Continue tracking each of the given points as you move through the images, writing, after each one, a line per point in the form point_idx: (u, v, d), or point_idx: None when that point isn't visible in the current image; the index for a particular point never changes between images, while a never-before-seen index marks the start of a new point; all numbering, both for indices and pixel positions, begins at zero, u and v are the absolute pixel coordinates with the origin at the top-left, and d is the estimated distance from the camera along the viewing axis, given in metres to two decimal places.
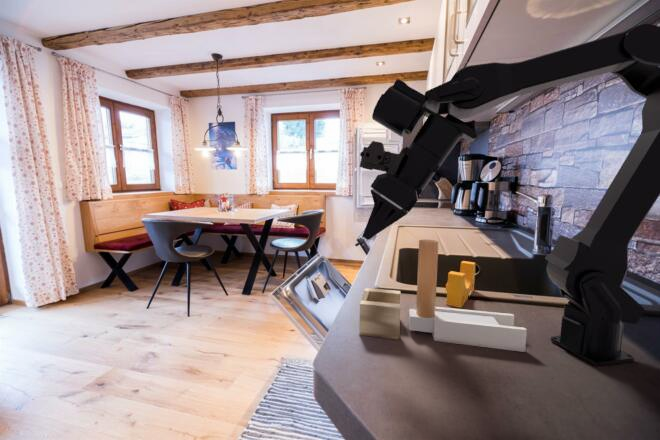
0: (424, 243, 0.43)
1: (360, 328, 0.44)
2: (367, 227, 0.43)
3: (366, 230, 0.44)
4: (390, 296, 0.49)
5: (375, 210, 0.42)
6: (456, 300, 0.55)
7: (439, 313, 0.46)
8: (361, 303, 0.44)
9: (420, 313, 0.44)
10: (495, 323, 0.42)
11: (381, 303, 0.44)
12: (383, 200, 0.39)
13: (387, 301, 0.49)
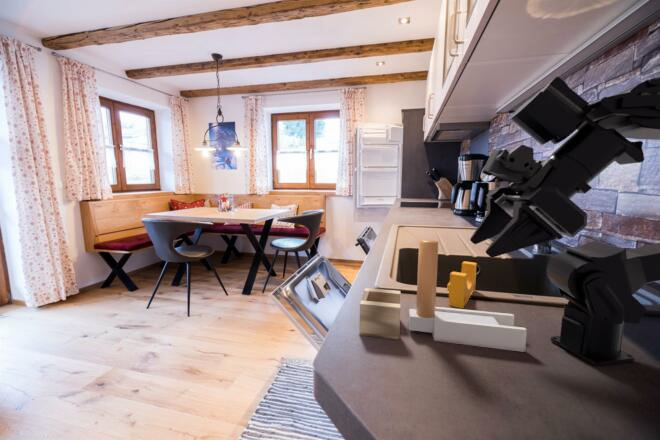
0: (424, 243, 0.43)
1: (360, 328, 0.44)
2: (496, 243, 0.37)
3: (493, 247, 0.37)
4: (390, 296, 0.49)
5: (515, 226, 0.36)
6: (458, 300, 0.55)
7: (439, 313, 0.46)
8: (361, 303, 0.44)
9: (420, 313, 0.44)
10: (495, 323, 0.42)
11: (381, 303, 0.44)
12: (538, 218, 0.33)
13: (387, 301, 0.49)
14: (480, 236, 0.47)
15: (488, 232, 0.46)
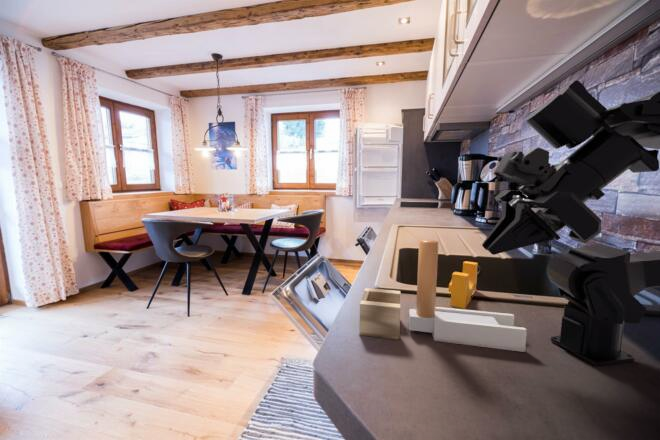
0: (424, 243, 0.43)
1: (360, 328, 0.44)
2: (498, 242, 0.40)
3: (495, 244, 0.40)
4: (390, 296, 0.49)
5: (516, 226, 0.38)
6: (460, 301, 0.55)
7: (439, 313, 0.46)
8: (361, 303, 0.44)
9: (420, 313, 0.44)
10: (495, 323, 0.42)
11: (381, 303, 0.44)
12: (538, 219, 0.36)
13: (387, 301, 0.49)
14: (493, 242, 0.43)
15: None
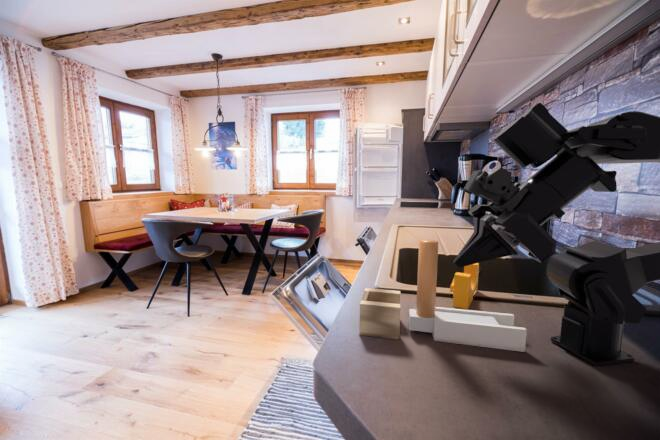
0: (424, 243, 0.43)
1: (360, 328, 0.44)
2: (463, 255, 0.42)
3: (461, 258, 0.43)
4: (390, 296, 0.49)
5: (479, 241, 0.41)
6: (463, 301, 0.55)
7: (439, 313, 0.46)
8: (361, 303, 0.44)
9: (420, 313, 0.44)
10: (495, 323, 0.42)
11: (381, 303, 0.44)
12: (498, 236, 0.38)
13: (387, 301, 0.49)
14: None
15: None
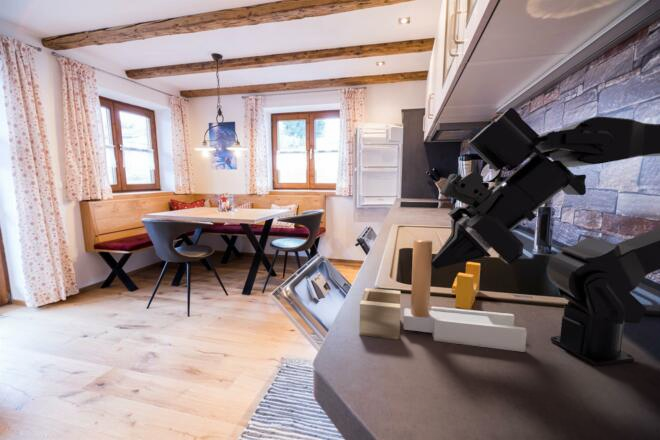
0: (418, 243, 0.43)
1: (360, 328, 0.44)
2: (439, 257, 0.43)
3: (437, 259, 0.43)
4: (390, 296, 0.49)
5: (454, 243, 0.42)
6: (465, 302, 0.54)
7: (433, 312, 0.46)
8: (361, 303, 0.44)
9: (414, 312, 0.45)
10: (489, 322, 0.42)
11: (381, 303, 0.44)
12: (471, 238, 0.39)
13: (387, 301, 0.49)
14: None
15: None
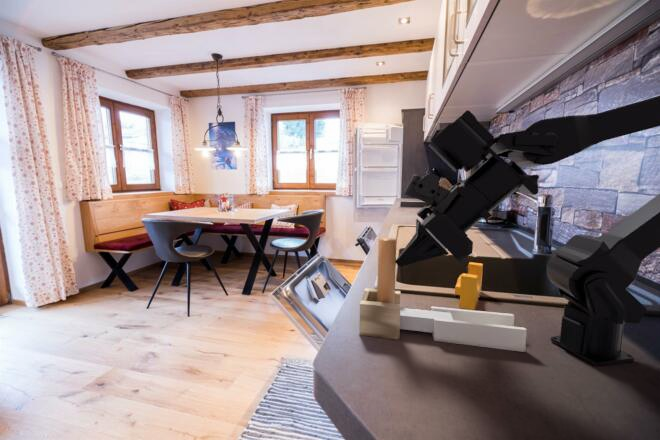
0: (382, 241, 0.45)
1: (360, 328, 0.44)
2: (403, 255, 0.44)
3: (401, 258, 0.45)
4: None
5: (416, 242, 0.43)
6: (469, 303, 0.54)
7: None
8: (361, 303, 0.44)
9: None
10: (450, 318, 0.44)
11: (381, 303, 0.44)
12: (429, 236, 0.40)
13: None
14: None
15: None
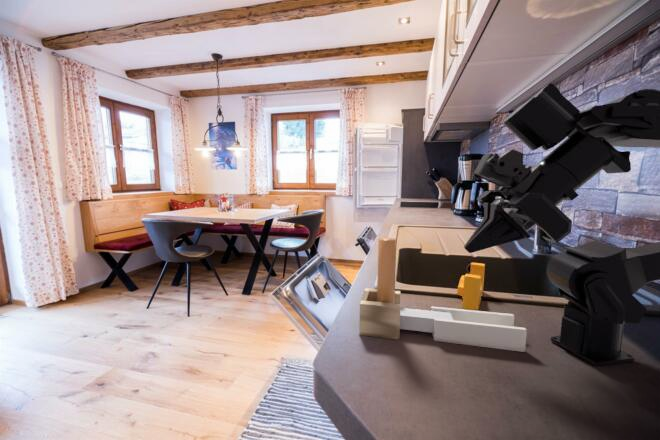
0: (382, 241, 0.45)
1: (360, 328, 0.44)
2: (474, 240, 0.42)
3: (472, 243, 0.42)
4: None
5: (491, 226, 0.40)
6: (473, 303, 0.54)
7: None
8: (361, 303, 0.44)
9: None
10: (450, 318, 0.44)
11: (381, 303, 0.44)
12: (510, 219, 0.38)
13: None
14: None
15: None
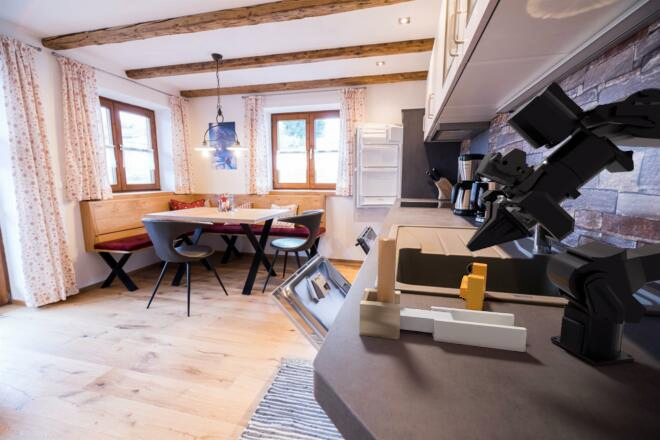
0: (382, 241, 0.45)
1: (360, 328, 0.44)
2: (476, 239, 0.42)
3: (474, 242, 0.42)
4: None
5: (493, 225, 0.40)
6: (476, 304, 0.53)
7: None
8: (361, 303, 0.44)
9: None
10: (450, 318, 0.44)
11: (381, 303, 0.44)
12: (512, 218, 0.38)
13: None
14: None
15: None
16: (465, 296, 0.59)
